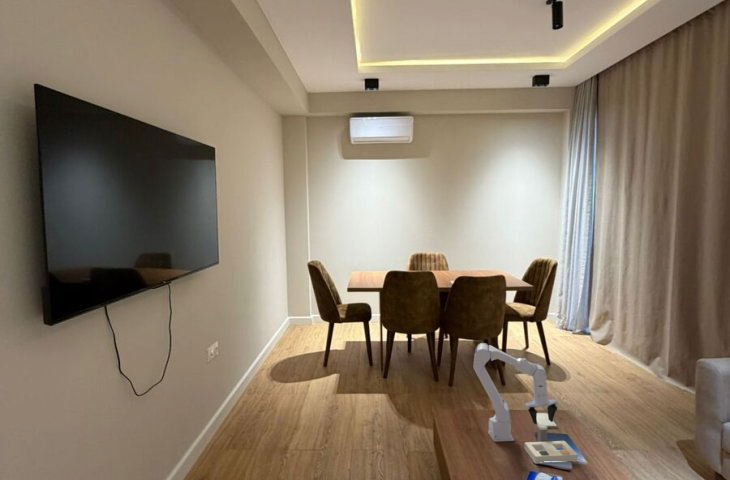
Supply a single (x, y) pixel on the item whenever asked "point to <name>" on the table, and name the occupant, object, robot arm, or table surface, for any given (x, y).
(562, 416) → the table surface
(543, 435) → the plug
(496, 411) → the robot arm
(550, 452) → the socket block
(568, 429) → the table surface
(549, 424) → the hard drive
